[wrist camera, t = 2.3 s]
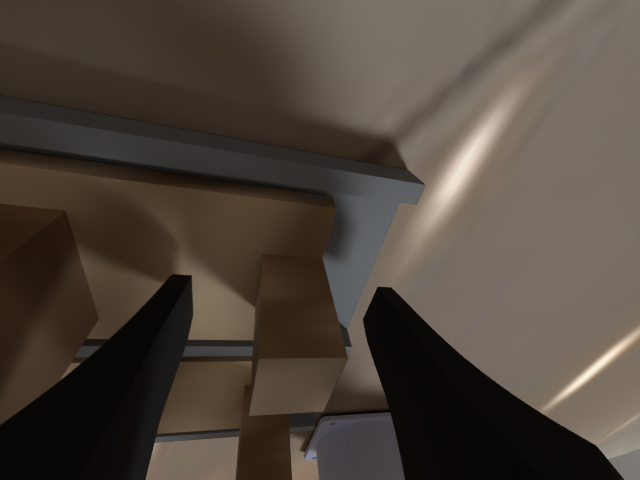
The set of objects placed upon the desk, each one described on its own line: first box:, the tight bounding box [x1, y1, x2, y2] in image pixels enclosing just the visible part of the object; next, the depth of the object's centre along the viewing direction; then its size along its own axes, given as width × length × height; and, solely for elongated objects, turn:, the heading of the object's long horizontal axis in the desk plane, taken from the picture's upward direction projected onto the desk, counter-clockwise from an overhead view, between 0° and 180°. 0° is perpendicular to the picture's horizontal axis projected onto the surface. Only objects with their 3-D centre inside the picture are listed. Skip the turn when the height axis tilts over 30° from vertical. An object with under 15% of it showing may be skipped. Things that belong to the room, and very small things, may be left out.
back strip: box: [60, 356, 292, 480], centre depth 14 cm, size 14×8×5 cm, turn 77°
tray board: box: [0, 96, 425, 443], centre depth 14 cm, size 17×20×2 cm
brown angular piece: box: [0, 149, 348, 416], centre depth 9 cm, size 14×8×5 cm, turn 77°
